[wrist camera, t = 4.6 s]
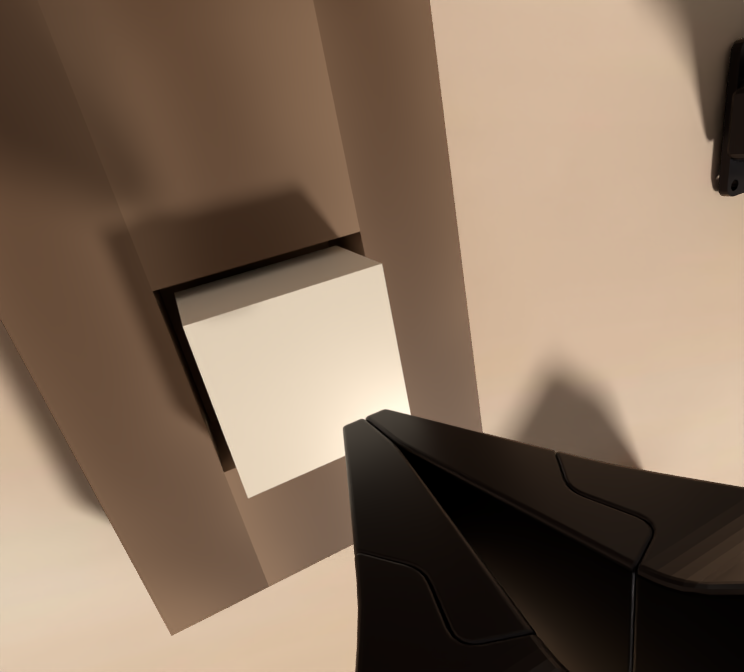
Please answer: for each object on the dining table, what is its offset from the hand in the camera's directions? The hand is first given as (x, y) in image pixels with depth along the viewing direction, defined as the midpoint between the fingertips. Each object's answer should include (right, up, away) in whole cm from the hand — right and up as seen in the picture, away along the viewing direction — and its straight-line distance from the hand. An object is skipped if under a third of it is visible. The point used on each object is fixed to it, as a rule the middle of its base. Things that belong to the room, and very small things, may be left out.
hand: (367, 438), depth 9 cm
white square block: (-2, +2, +5) cm, 6 cm away
